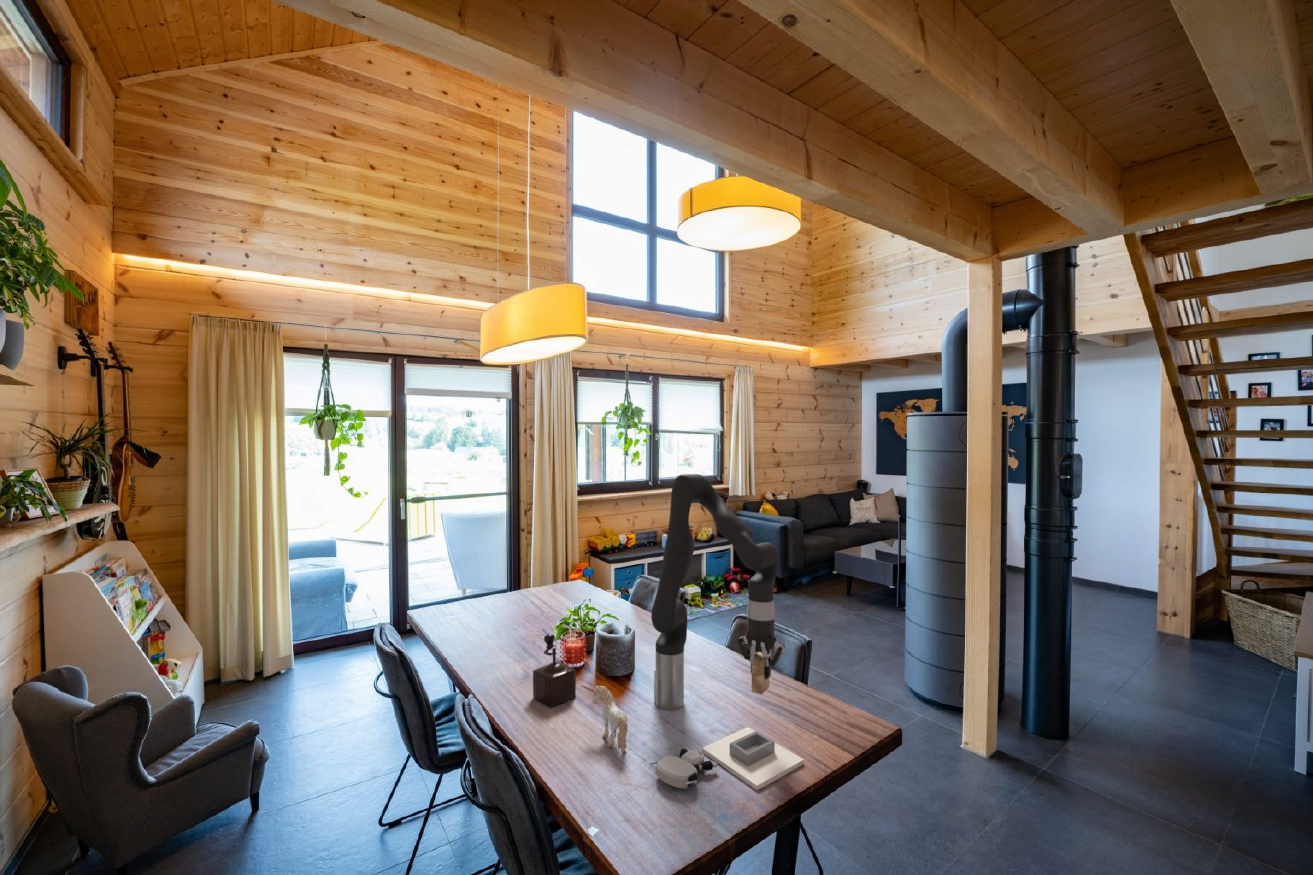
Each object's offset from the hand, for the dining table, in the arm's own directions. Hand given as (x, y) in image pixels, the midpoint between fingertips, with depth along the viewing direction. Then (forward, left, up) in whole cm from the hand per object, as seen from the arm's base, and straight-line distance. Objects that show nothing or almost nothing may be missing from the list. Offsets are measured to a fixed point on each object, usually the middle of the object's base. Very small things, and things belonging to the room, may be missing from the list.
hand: (760, 676), depth 151 cm
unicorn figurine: (-43, +9, -20) cm, 48 cm away
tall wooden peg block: (0, 0, -3) cm, 3 cm away
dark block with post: (-58, +40, -20) cm, 73 cm away
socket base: (-4, -5, -19) cm, 20 cm away
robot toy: (-24, -10, -20) cm, 33 cm away
